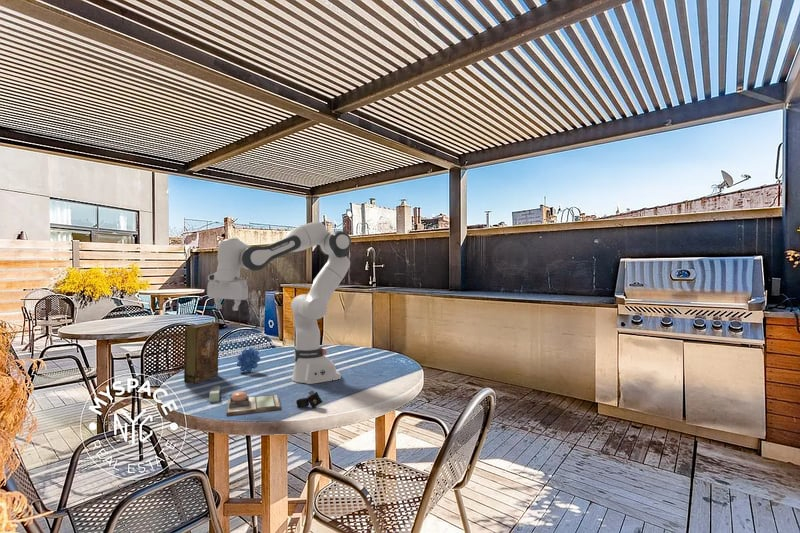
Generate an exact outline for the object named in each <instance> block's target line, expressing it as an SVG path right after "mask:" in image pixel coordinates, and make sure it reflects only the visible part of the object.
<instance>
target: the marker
mask: <svg viewBox="0 0 800 533" xmlns="http://www.w3.org/2000/svg"><path fill="white" fill-rule="evenodd" d="M210 388H211V389H210V392H209V394H208V395H209V397H208V398H209V399H208V400H209V403H215V402H219V401H220V394H221V386H220V385H215V386H211V387H210Z"/></svg>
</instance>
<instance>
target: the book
mask: <svg viewBox="0 0 800 533" xmlns="http://www.w3.org/2000/svg"><path fill="white" fill-rule="evenodd" d="M219 326H220V324H219V322H217V321H216V322H215V321H211V322H210V321H209V322H205V323H198V324H192V325H188V326H185V328H184V365H183V366H184V371H183V381H184V384H189V383H190V384H195V385H197V384H196V383H198V384H199V382H201V383H203V382H205V380H206V381H207V380H210V379H212V378H215V377H218V376H219V344H220V343H219V341H220V340H219V338H220V336H219V334H220V333H219V332H220V329H219V328H220V327H219ZM202 381H203V382H202Z"/></svg>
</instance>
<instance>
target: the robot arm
mask: <svg viewBox="0 0 800 533" xmlns="http://www.w3.org/2000/svg"><path fill="white" fill-rule="evenodd" d="M327 229H328V228H327V227H326V225H325V224H324V223H323V222H321V221H314V222H309V223H304V224H301V225H299V226H297V227H295V228H292V229H291V230H289V231H287V233H286V234H285V237H283V238H282V239H280V240H277V241H275V242H273V243H272V242H271V243H270V244H267V245H265V246H263V245H262V246H261V245H260V246H259V245H254V246H251V245H248V244H246V243H244V242H243V241H241V240H240V239H239V238H226V239H223V240H221V241H220V242H218V243H219V244H218V248H217V259H216V260H217V262H218V263H217V268H216V271H215V272H214V273H211V274H209V275H208V276H207V280H208V283H207V287H206V288H207V289H206V291H207V292H206V293H207V294H206V295H207V297H208V298H209V299H213V300H214V301H213V302H214V303H215V309H216V310H222V309H223V304H221V300H222V299H224V300H234V305H232V307H231V308H232V311H239V306H240V305H241V302H242V301H247V300H248V299H249V287H248V280H247V279H246V278H245V277H240V275H241V274H240V273H241V268H243V269H246V270H251V271H252V272H253V271H254V272H257V271H261V270H263V269H264V268H266V267H267V266H268V264H270V263H271V262H272V261H273V260H276V259H277V258H279V257H282V256H284V255H286V254H288V253H298V252H301V251H302V252H303V251H305V250H308V249H310V248H312V247H316V246H317V248H318V249H319V251H320V252H321V253H322V254H323V255H326V256H328V258H327V261H326V262H325V264H324V265H323V266H322V268H321V269H320V270H319V272H318V273H317V275H316V276H315V277H314V278H313V280H312V285H311V287H310V289H309V291H308V292H307V293H305V294H304V293H302V294H298V295H296V296H295V297H294V298H293V299H292V301H291V302H290V308H291V311H292V315H293V322H294V329H295V330H294V331H295V348H294V352H293V353H294V354H293V357H294V358H293V359H294V360H293V361H294V368H293V371H292V376H291V381H292V382H295V383H302V384H303V383H304V384H307V385H312V384H319V383H326V382H331V381H332V380H333V381H338V379H339V380H341V378H342V375H341V373H340V372H339V371H337V367H336V364H335V363H334V362H333V361H332V360H331V359H330V358H328V357H327V356H326V354H327V350H326V349H324V348H323V347H321V330H320V328H319V324H318V320H320V319H322V318H324V317H325V316H326V315H327V312H328V305H329V303H330V300H331V298H332V296H333V294H334V292H335V291H336V289H338V286H339V285H340V284H341V282H342V281H343V279H344V278H345V276H346V274H347V273H348V271H349V268H350V266H351V260H350V259H349V257H348V255H349V254H350V249H351V246H352V239H351V237H350V235H349V233H347V232H345V231H341V230H336V231H332V232H329V231H328V230H327Z"/></svg>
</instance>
